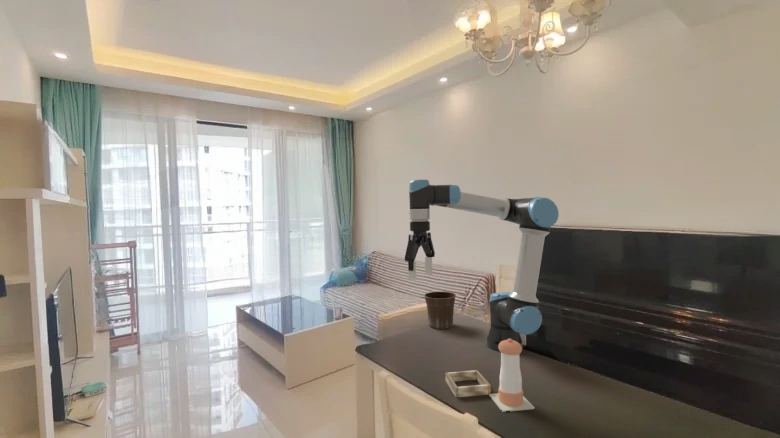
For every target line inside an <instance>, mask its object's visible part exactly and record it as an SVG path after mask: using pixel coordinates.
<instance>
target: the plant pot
mask: <svg viewBox="0 0 780 438" xmlns="http://www.w3.org/2000/svg"><path fill="white" fill-rule="evenodd" d="M423 295H424V298H425V304H426V311H427V317H428V325H429V327H430V328H432V329H436V330H446V329H447V328H448V329H450V328H453V326H454V311H455V310H454V308H455V303H456V297H457V294H455V293H454V292H450V291H431V292H426V293H425V294H423Z"/></svg>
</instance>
